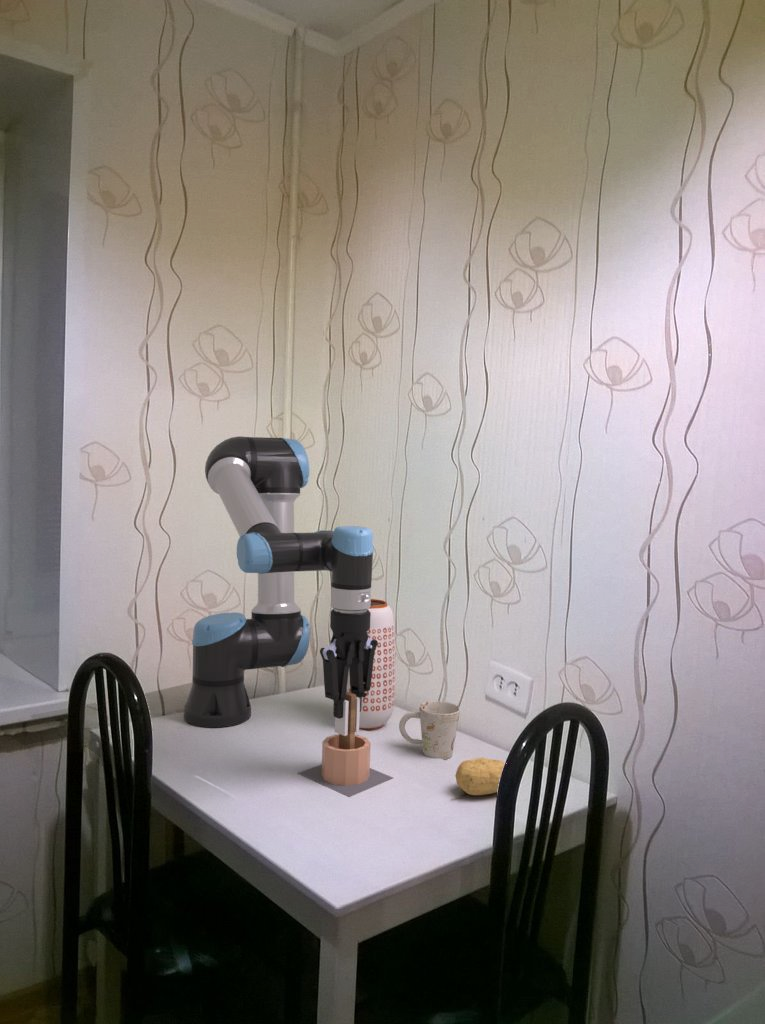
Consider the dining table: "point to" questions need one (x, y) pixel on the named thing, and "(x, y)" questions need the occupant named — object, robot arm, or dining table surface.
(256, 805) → the dining table surface
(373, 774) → the mat
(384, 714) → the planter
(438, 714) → the mug
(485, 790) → the potato
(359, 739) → the jar
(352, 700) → the long wooden stick
